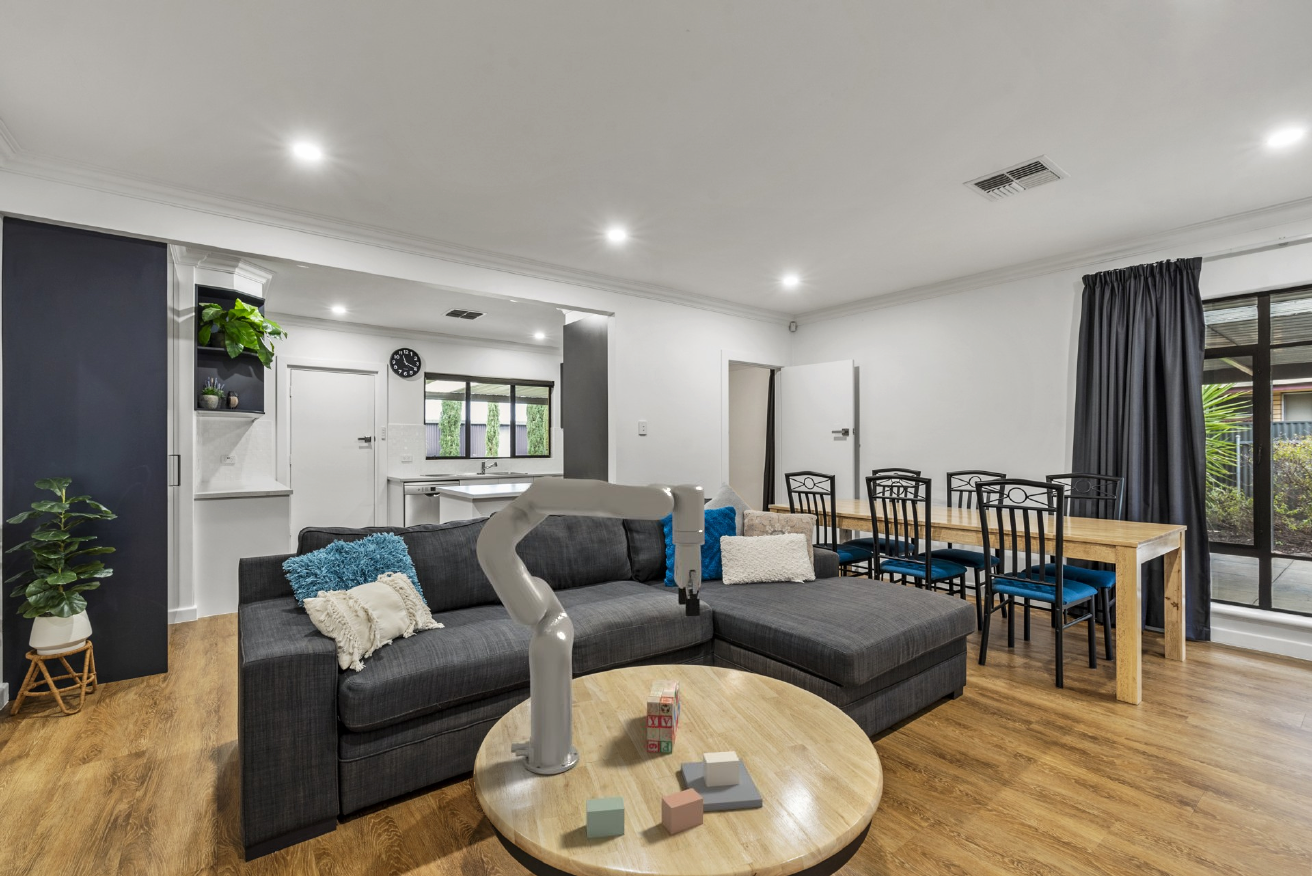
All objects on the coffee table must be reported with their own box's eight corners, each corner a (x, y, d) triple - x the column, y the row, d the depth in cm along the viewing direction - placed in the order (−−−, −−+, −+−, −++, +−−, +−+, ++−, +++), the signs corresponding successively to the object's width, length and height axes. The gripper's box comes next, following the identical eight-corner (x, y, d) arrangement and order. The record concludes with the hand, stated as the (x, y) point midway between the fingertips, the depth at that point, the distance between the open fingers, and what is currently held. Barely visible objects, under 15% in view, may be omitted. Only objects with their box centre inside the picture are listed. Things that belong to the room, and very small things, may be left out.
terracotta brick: (671, 834, 117) (671, 808, 117) (661, 823, 121) (661, 797, 121) (703, 824, 120) (703, 798, 120) (692, 812, 124) (692, 787, 124)
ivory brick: (707, 786, 130) (706, 762, 130) (703, 776, 134) (703, 753, 134) (739, 784, 131) (739, 760, 131) (734, 774, 135) (734, 751, 135)
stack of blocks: (657, 713, 169) (657, 667, 169) (680, 714, 168) (680, 668, 168) (646, 752, 148) (646, 701, 148) (672, 754, 147) (672, 702, 147)
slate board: (694, 812, 124) (694, 804, 124) (680, 769, 140) (680, 763, 140) (762, 806, 126) (762, 799, 126) (741, 765, 142) (741, 758, 142)
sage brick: (587, 838, 116) (587, 811, 116) (586, 825, 120) (586, 799, 120) (624, 835, 117) (624, 808, 117) (622, 822, 121) (622, 796, 121)
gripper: (667, 532, 154) (667, 600, 154) (679, 543, 137) (679, 621, 137) (696, 531, 155) (697, 599, 155) (712, 542, 138) (712, 619, 138)
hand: (688, 609), depth 146 cm, fingers open, 9 cm apart
